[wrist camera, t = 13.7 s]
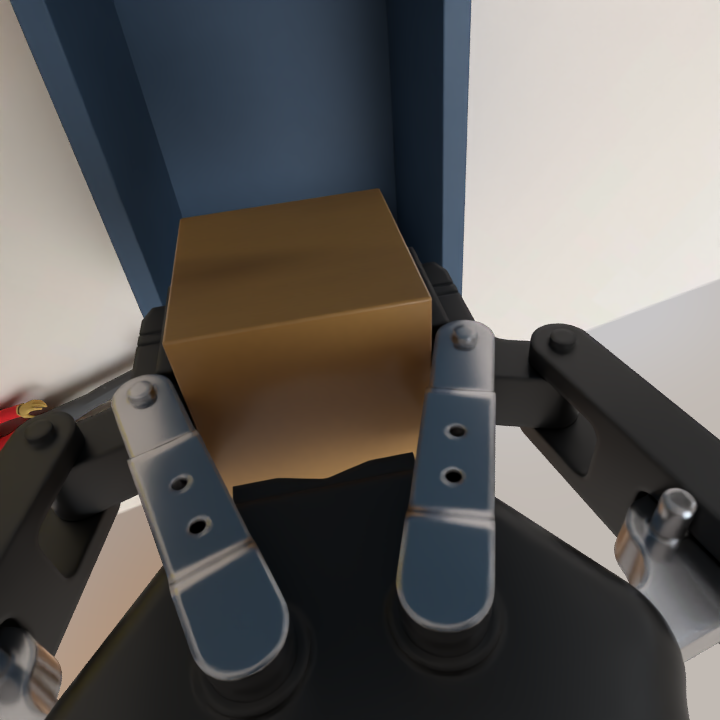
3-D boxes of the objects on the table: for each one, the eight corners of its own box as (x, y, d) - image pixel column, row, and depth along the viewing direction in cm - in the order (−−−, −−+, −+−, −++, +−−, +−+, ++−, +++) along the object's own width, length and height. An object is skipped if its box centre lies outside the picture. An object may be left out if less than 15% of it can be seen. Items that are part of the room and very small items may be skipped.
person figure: (195, 439, 31) (-84, 555, 33) (209, 404, 34) (-43, 510, 36) (144, 359, 29) (-150, 487, 31) (165, 331, 32) (-100, 448, 34)
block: (389, 341, 18) (432, 467, 14) (226, 369, 17) (225, 506, 14) (379, 186, 14) (432, 297, 11) (178, 217, 14) (160, 343, 10)
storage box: (410, 231, 30) (461, 334, 23) (185, 269, 29) (171, 385, 22) (398, -105, 21) (475, -95, 14) (73, -64, 20) (-6, -34, 13)
